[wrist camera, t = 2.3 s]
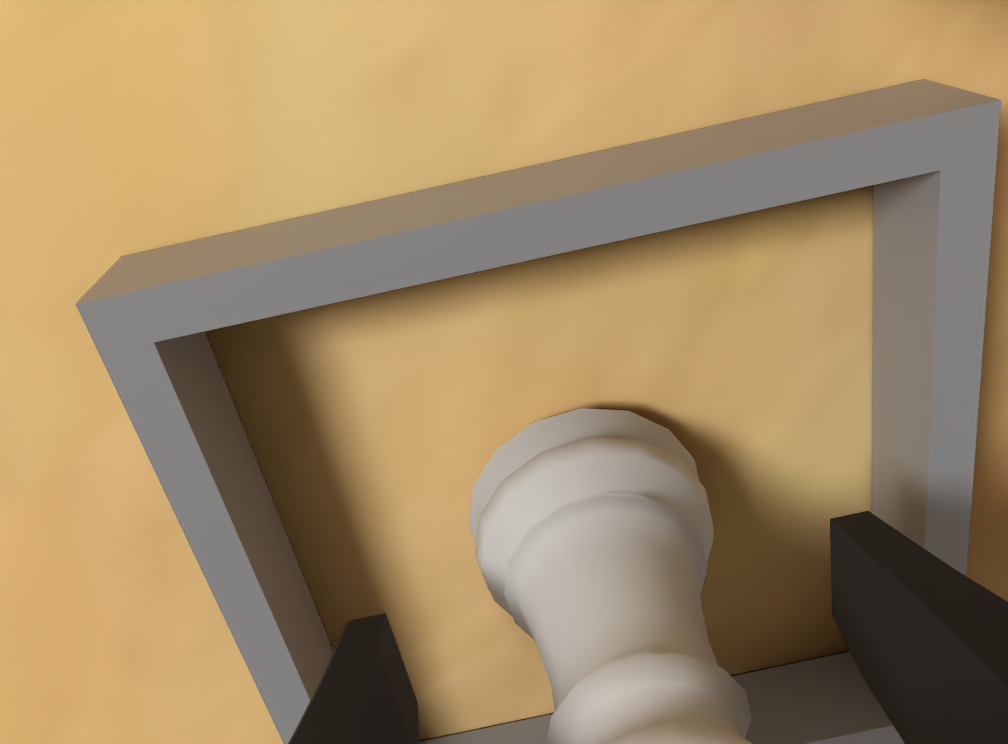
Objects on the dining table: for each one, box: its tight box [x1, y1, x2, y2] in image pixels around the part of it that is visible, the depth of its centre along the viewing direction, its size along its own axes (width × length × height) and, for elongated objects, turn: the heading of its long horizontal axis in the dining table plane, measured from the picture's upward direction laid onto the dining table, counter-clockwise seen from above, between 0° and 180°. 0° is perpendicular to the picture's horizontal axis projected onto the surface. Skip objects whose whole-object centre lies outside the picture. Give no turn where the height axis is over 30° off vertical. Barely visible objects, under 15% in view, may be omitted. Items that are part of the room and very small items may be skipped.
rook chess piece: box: [469, 408, 753, 744], centre depth 13 cm, size 4×4×8 cm
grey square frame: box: [76, 79, 1001, 744], centre depth 15 cm, size 13×13×2 cm
